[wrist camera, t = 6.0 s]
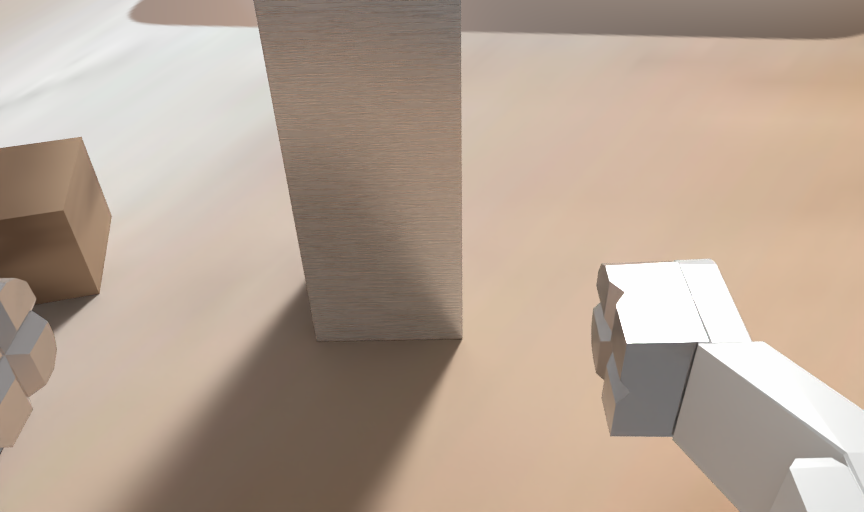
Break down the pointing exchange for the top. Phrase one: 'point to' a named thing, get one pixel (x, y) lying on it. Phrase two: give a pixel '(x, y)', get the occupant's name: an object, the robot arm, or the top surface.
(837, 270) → the top surface
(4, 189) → the walnut block
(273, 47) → the tea tin
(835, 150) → the top surface
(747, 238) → the top surface
